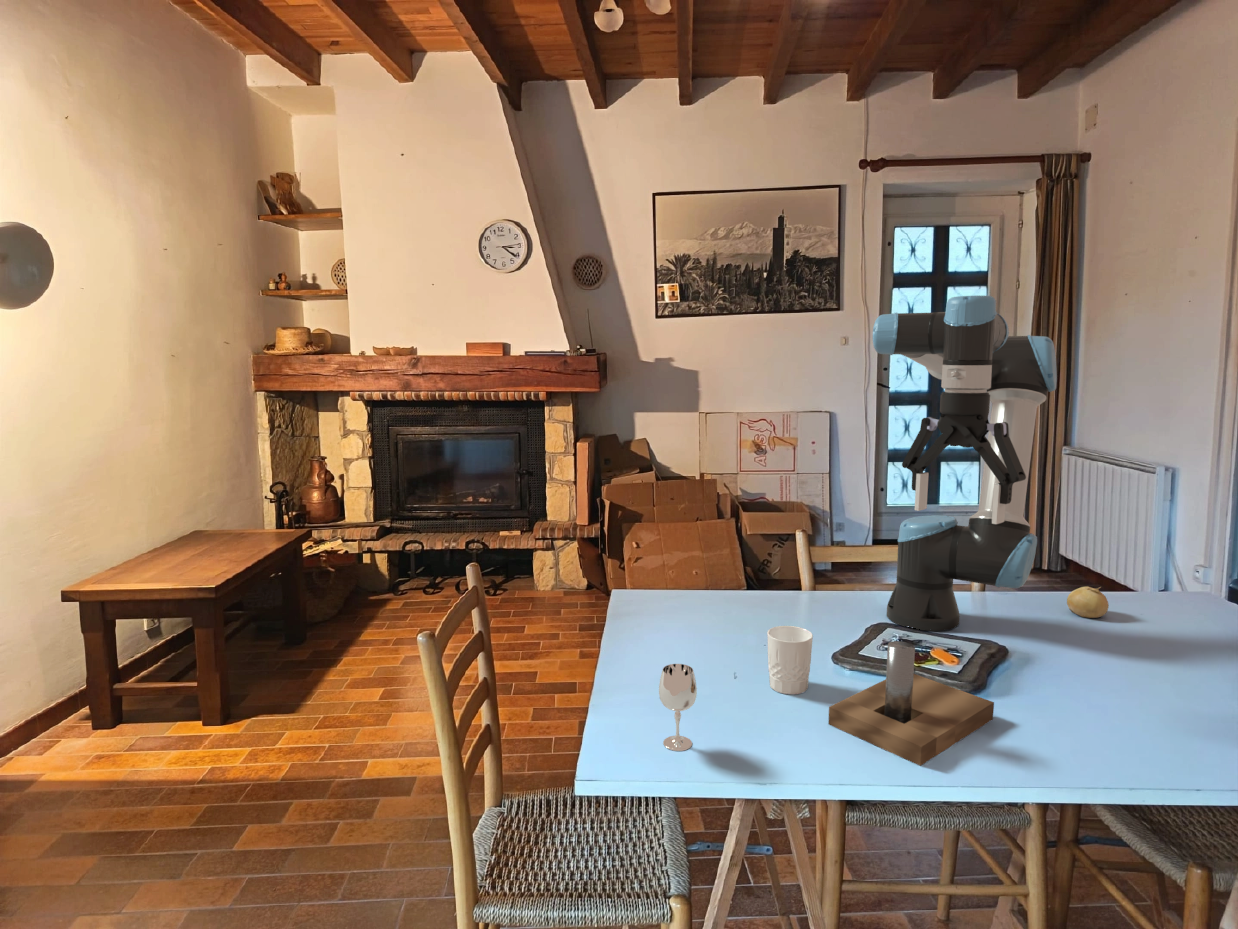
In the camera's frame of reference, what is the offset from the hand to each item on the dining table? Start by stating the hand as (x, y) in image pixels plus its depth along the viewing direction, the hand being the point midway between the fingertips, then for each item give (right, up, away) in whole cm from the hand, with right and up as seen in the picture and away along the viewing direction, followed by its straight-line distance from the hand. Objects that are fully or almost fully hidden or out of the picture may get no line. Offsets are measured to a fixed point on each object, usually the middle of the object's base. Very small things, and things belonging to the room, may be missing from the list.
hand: (957, 516), depth 129 cm
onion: (+48, -26, +42) cm, 69 cm away
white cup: (-27, -31, +7) cm, 42 cm away
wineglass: (-49, -35, -12) cm, 61 cm away
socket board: (-10, -33, -6) cm, 35 cm away
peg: (-13, -33, -8) cm, 37 cm away
